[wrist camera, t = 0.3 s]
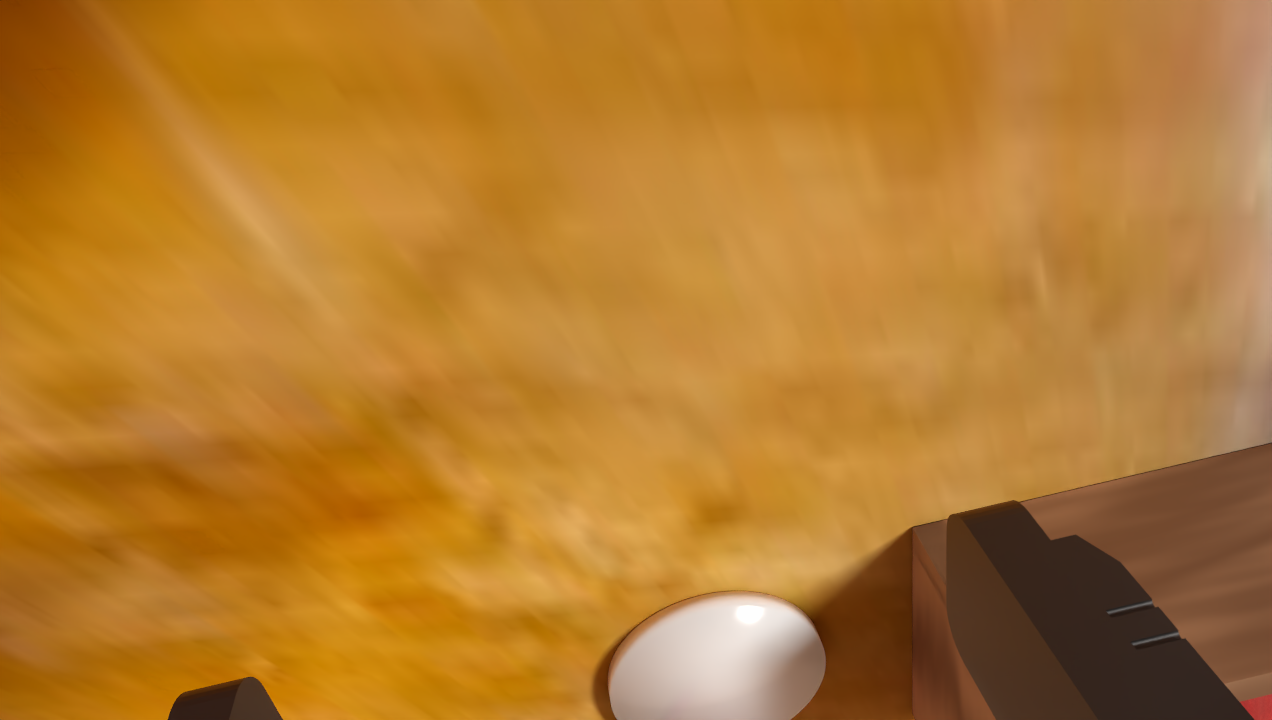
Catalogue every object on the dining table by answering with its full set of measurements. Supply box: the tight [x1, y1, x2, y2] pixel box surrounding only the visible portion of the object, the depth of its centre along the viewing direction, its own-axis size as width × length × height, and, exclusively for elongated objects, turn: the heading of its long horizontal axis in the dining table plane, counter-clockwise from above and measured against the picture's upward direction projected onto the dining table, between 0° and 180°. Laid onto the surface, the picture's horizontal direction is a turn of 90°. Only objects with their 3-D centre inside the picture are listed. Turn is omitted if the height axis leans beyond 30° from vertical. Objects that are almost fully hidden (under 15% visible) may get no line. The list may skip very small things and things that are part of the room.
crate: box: [912, 443, 1272, 720], centre depth 36 cm, size 12×20×9 cm, turn 100°
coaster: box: [608, 591, 826, 720], centre depth 38 cm, size 9×9×1 cm
